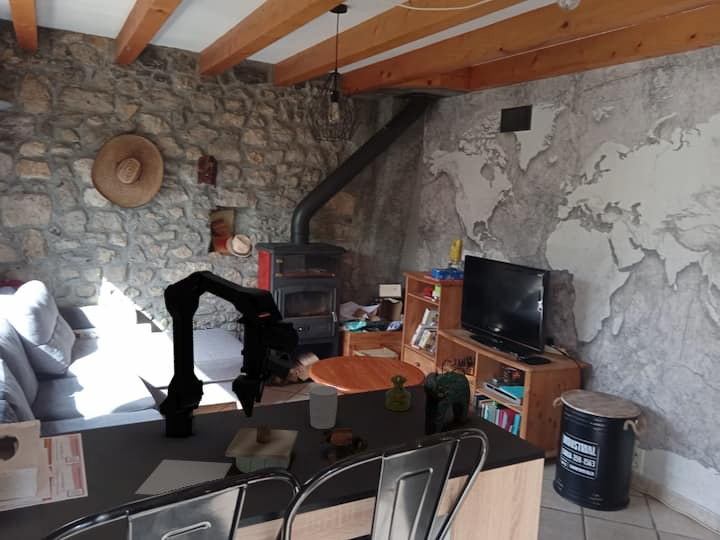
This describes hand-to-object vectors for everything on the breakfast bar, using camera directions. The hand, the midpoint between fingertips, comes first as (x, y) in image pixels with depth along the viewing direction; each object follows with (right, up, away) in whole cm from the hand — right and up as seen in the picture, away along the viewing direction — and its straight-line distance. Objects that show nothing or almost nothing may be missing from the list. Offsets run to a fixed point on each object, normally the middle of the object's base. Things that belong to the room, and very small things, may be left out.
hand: (253, 409), depth 139 cm
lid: (+2, -9, -1) cm, 9 cm away
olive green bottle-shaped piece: (+36, -9, +42) cm, 56 cm away
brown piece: (+21, -13, +6) cm, 25 cm away
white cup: (+15, -10, +26) cm, 31 cm away
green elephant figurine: (+49, -12, +27) cm, 57 cm away
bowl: (+2, -13, -1) cm, 13 cm away
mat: (-13, -13, -9) cm, 21 cm away
